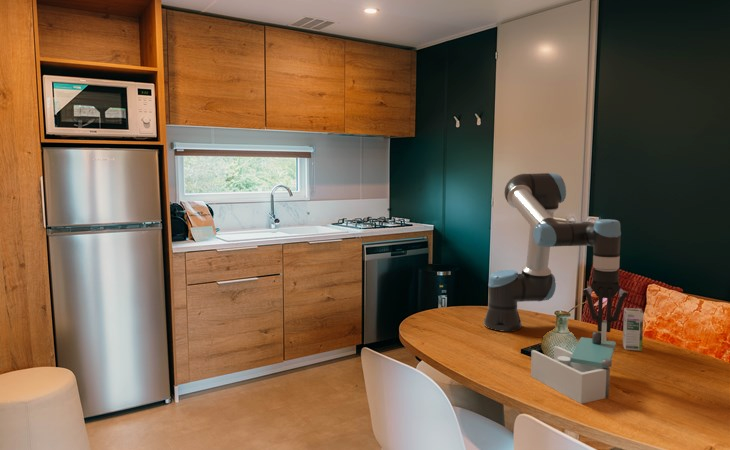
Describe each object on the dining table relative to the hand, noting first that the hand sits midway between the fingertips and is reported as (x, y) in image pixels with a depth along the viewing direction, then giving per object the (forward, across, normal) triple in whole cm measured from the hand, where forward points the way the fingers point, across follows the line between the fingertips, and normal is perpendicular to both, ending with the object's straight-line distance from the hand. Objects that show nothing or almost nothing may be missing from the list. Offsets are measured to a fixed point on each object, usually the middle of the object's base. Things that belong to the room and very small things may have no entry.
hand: (603, 341), depth 166 cm
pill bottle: (+11, +11, +12) cm, 20 cm away
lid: (+2, +3, +7) cm, 7 cm away
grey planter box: (+11, +10, +13) cm, 20 cm away
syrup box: (+12, -10, -31) cm, 35 cm away
